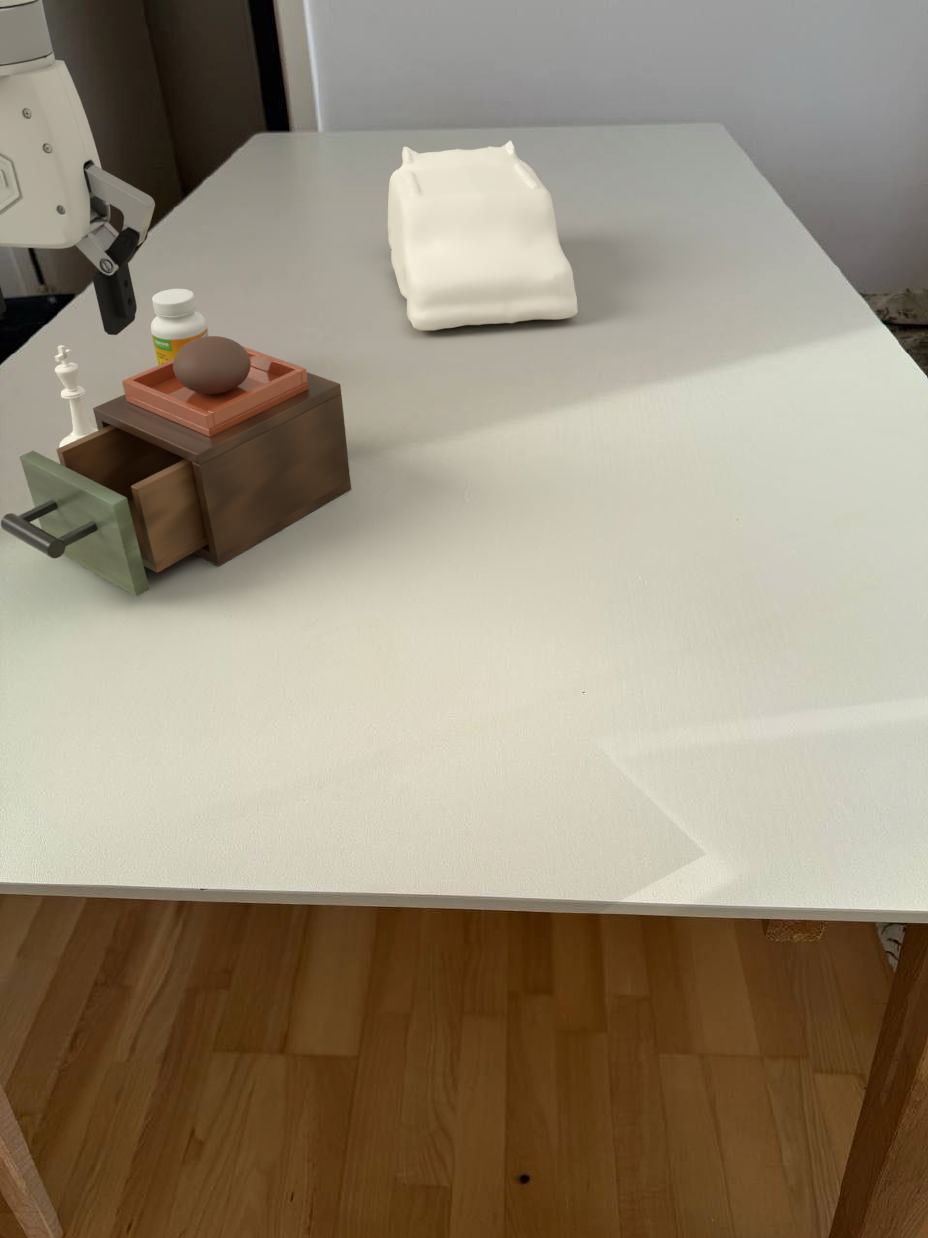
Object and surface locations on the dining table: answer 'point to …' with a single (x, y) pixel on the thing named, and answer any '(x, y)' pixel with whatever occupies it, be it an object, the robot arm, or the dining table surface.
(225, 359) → the egg
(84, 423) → the chess piece
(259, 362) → the orange square tray
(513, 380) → the dining table surface
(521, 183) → the flour sack
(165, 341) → the supplement bottle
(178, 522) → the drawer
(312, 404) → the cabinet
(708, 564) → the dining table surface
